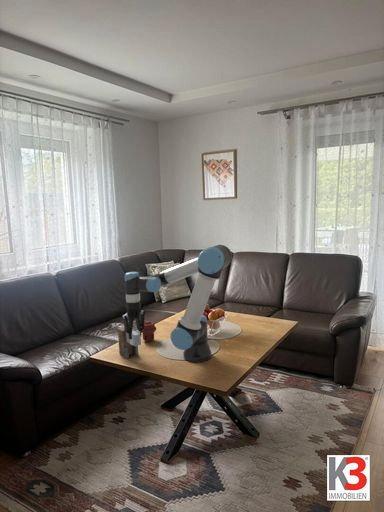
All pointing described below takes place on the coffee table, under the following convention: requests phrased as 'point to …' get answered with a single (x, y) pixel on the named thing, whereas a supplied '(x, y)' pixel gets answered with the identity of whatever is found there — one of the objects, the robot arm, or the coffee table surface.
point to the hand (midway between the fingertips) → (135, 343)
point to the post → (125, 345)
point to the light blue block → (136, 338)
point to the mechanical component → (148, 331)
